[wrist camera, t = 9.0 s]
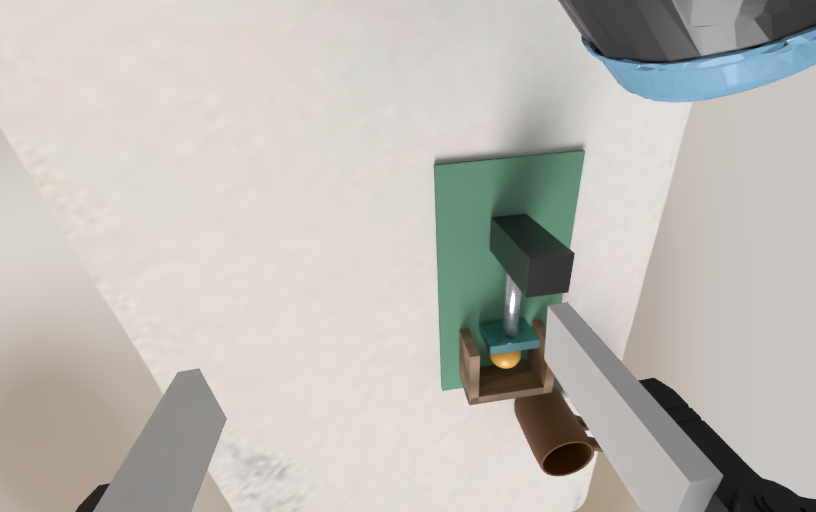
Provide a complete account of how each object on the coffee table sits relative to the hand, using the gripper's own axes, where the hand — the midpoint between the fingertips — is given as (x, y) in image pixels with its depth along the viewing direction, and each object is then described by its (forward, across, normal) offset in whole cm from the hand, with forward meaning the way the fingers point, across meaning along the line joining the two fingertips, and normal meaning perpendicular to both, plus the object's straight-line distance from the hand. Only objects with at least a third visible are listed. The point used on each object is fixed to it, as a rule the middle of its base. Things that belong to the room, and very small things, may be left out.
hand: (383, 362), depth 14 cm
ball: (+23, +13, -24) cm, 36 cm away
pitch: (+26, +14, -16) cm, 33 cm away
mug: (+26, +22, -38) cm, 51 cm away
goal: (+25, +13, -25) cm, 38 cm away
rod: (+25, +14, -14) cm, 32 cm away
